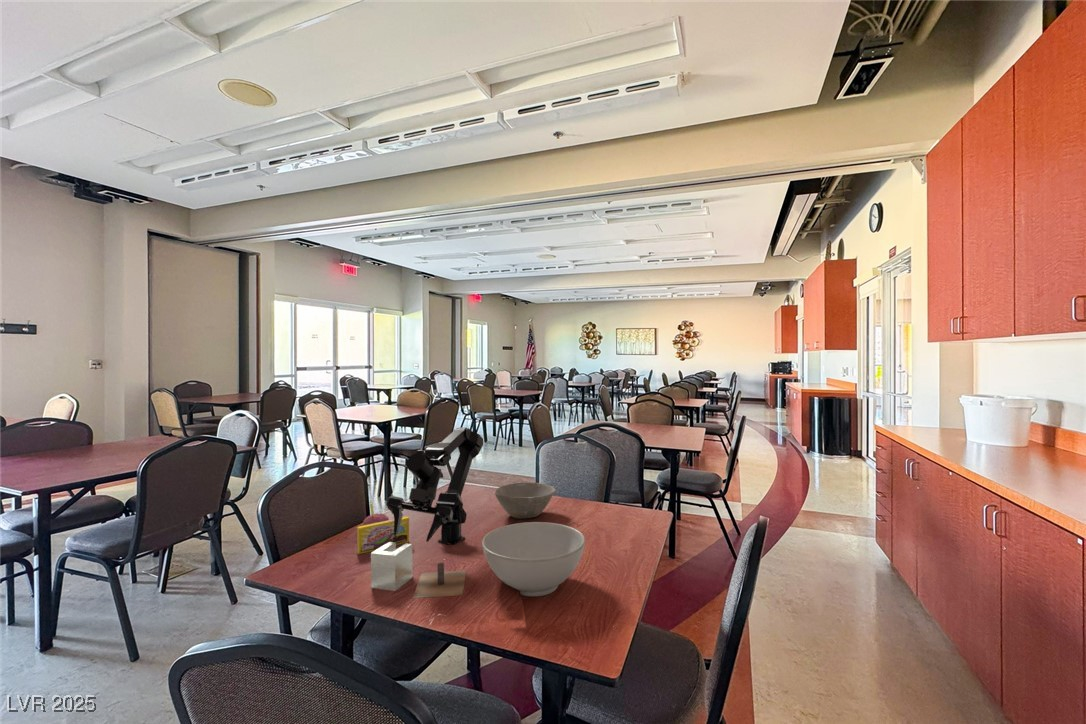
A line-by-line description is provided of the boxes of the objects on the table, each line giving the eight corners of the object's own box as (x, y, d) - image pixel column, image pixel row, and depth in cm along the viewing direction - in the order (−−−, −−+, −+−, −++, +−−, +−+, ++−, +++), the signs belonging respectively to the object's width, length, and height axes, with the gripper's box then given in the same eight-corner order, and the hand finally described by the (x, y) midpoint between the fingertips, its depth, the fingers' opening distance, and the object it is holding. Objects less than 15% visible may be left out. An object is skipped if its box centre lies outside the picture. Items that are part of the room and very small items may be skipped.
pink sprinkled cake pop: (372, 541, 157) (371, 505, 157) (357, 536, 162) (357, 500, 162) (394, 533, 163) (394, 499, 164) (379, 529, 169) (379, 495, 169)
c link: (389, 578, 129) (389, 541, 129) (412, 581, 127) (412, 544, 127) (371, 592, 121) (370, 553, 121) (395, 595, 119) (394, 555, 119)
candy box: (359, 555, 145) (358, 528, 145) (356, 553, 147) (356, 526, 147) (409, 542, 155) (409, 517, 156) (407, 540, 157) (406, 515, 157)
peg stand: (421, 577, 129) (421, 554, 129) (465, 574, 130) (465, 552, 130) (412, 603, 115) (412, 577, 115) (462, 599, 116) (462, 574, 116)
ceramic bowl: (487, 512, 186) (487, 486, 186) (540, 504, 196) (540, 479, 196) (507, 529, 166) (506, 500, 166) (565, 519, 176) (565, 492, 176)
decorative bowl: (510, 558, 141) (509, 517, 141) (597, 571, 131) (597, 527, 131) (462, 600, 116) (462, 551, 116) (567, 620, 106) (566, 566, 106)
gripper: (392, 469, 136) (372, 523, 126) (456, 481, 135) (440, 536, 126) (398, 484, 145) (380, 535, 135) (458, 495, 144) (444, 547, 135)
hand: (410, 538), depth 133 cm, fingers open, 9 cm apart
